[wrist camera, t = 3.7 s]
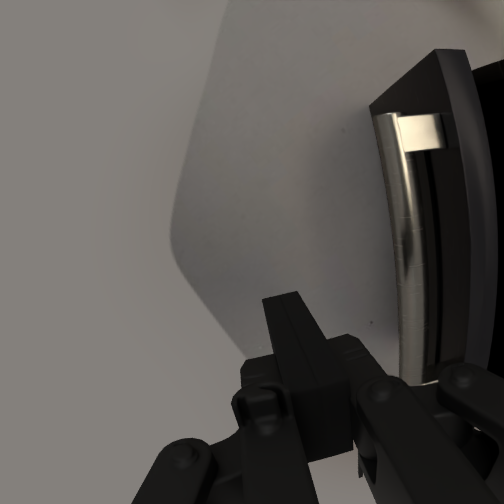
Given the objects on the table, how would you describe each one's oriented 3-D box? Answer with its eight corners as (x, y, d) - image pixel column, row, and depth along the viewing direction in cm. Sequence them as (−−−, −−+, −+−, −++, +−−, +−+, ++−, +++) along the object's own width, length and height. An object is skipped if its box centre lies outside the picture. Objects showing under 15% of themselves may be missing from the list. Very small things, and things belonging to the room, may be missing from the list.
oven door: (367, 340, 27) (402, 453, 14) (332, 110, 23) (367, 50, 10) (414, 330, 26) (471, 432, 13) (387, 103, 22) (465, 49, 9)
